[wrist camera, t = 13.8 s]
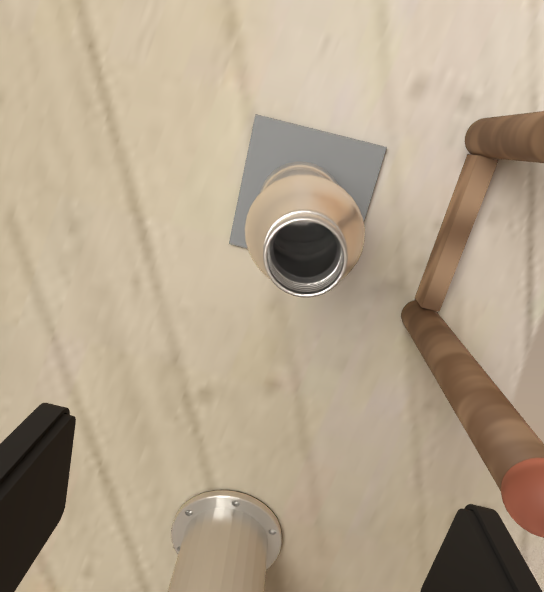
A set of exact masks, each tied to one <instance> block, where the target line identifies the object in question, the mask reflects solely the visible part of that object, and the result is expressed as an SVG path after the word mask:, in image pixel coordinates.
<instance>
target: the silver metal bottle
mask: <svg viewBox="0 0 544 592" xmlns="http://www.w3.org/2000/svg"><path fill="white" fill-rule="evenodd" d="M364 239H365V228H364V222H363V218H362V215H361V212H360V210H359V208H358V206H357V204H356V203H355V201H354V200H353V198H352V197H351V196H350V195H349V194H348V193H347V192H346V191H345V190H344V189H343V188H341V187H340V186H339V185H338V184H337V182H336V181H335V179H334V178H333V177H332V176H331V175H330V174H329V173H328V172H327V171H326V170H325V169H323V168H322V167H320V166H318V165H315V164H313V163H308V162H292V163H287V164H285V165H282V166H280V167H279V168H277V169H276V170H274V171H273V172H272V173H271V174H270V175H269V176H268V177H267V179H266V180H265V182H264V184H263V186H262V189H261V191H260V194H259V195H258V196H257V197H256V199H255V200H254V202H253V203H252V205H251V207H250V209H249V212H248V215H247V218H246V224H245V240H246V244H247V248H248V251H249V253H250V255H251V258H252V260H253V261H254V263H255V264H256V265H257V267H258V268H259V270H260V271H262V272H263V273H264V274H265V275H266V276H267V277H268V278H269V279H271V280H272V281H273V283H274V284H275V285H276V286H277V287H279V288H280V289H281V290H283V291H284V292H286V293H288V294H291V295H293V296H298V297H314V296H319V295H322V294H324V293H326V292H328V291H330V290H331V289H332V288H334V287H335V286H336V285H337V284H338V283H339V281H340V280H342V279H343V278H344V277H345V276H346V275H347V274H348V273H349V272H350V271H351V270H352V268H353V267H354V266H355V264H356V263H357V261H358V259H359V257H360V255H361V253H362V249H363V245H364Z"/></svg>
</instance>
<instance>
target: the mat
mask: <svg viewBox="0 0 544 592" xmlns="http://www.w3.org/2000/svg"><path fill="white" fill-rule="evenodd" d="M386 148H387V147H384V146H380V145H376V144H372V143H368V142H364V141H360V140H356V139H352V138H348V137H344V136H340V135H336V134H332V133H328V132H324V131H320V130H316V129H312V128H308V127H304V126H300V125H296V124H292V123H288V122H284V121H280V120H276V119H272V118H269V117H265V116H261V115H257V114H256V115H255V120H254V124H253V129H252V134H251V139H250V144H249V149H248V153H247V158H246V163H245V168H244V173H243V178H242V183H241V187H240V192H239V197H238V202H237V207H236V212H235V217H234V221H233V226H232V231H231V236H230V241H229V244H231V245H236V246H240V247H244V248H247V244H246V240H245V224H246V218H247V215H248V212H249V209H250V207H251V205H252V203H253V202H254V200H255V199H256V197H257V196H258V195H259V194H260V191H261V189H262V186H263V184H264V182H265V180H266V179H267V177H268V176H269V175H270V174H271V173H272V172H273V171H274V170H276V169H277V168H279V167H280V166H282V165H285V164H287V163H292V162H308V163H313V164H315V165H318V166H320V167H322V168H323V169H325V170H326V171H327V172H328V173H329V174H330V175H331V176H332V177H333V178H334V179H335V181H336V182H337V184H338V185H339V186H340V187H341V188H343V189H344V190H345V191H346V192H347V193H348V194H349V195H350V196H351V197H352V198H353V200H354V201H355V203H356V204H357V206H358V208H359V210H360V212H361V215H362V218H363V222H364V220H365V217H366V213H367V210H368V207H369V203H370V200H371V197H372V194H373V190H374V187H375V184H376V181H377V177H378V174H379V171H380V168H381V164H382V161H383V158H384V155H385V151H386Z"/></svg>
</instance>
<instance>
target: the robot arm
mask: <svg viewBox="0 0 544 592" xmlns="http://www.w3.org/2000/svg"><path fill="white" fill-rule="evenodd" d="M75 422H76V419H75V417H74V416H71V415H70V411H69V409H68V408H65V407H61V406H57V405H53V404H49V403H42V404H41V405H39V406H38V407H37V408H36V409H35V410H34V411H33V412H32V413H31V414H30V415H29V416H28V417H27V418H26V419H25V420H24V421H23V422H22V423H21V424H20V425H19V426H18V427H17V428H16V429H15V430H14V431H13V432H12V433H11V434H10V435H9V436H8V437H7V438H6V439H5V440H4V441H3V442H2V443H1V444H0V592H14V591H15V590H16V588H17V587H18V585H19V584H20V582H21V581H22V579H23V577H24V576H25V574H26V573H27V571H28V570H29V568H30V566H31V565H32V563H33V562H34V560H35V559H36V557H37V556H38V554H39V552H40V551H41V549H42V548H43V546H44V545H45V543H46V542H47V540H48V538H49V537H50V535H51V534H52V532H53V531H54V529H55V527H56V526H57V524H58V523H59V521H60V519H61V517H62V514H63V512H64V508H65V503H66V495H67V487H68V479H69V471H70V463H71V455H72V447H73V438H74V430H75ZM171 538H172V543H173V546H174V549H175V551H176V552H177V554H178V557H177V561H176V564H175V568H174V571H173V575H172V578H171V582H170V585H169V589H168V592H264V587H265V573H266V570H267V569H268V568H269V567H270V566H272V564H273V563H274V562H275V561H276V559H277V557H278V555H279V553H280V549H281V541H282V533H281V528H280V524H279V522H278V520H277V518H276V516H275V515H274V514H273V512H272V511H271V510H270V509H269V508H268V507H267V506H266V505H265V504H263V503H262V502H260V501H259V500H257V499H256V498H253V497H251V496H249V495H247V494H243V493H240V492H236V491H228V490H218V491H210V492H205V493H202V494H200V495H197V496H195V497H193V498H191V499H190V500H188V501H187V502H186V503H185V504H184V505H183V506H182V507H181V508H180V509H179V511H178V512H177V514H176V516H175V519H174V522H173V525H172V530H171ZM421 592H542V590H541V589H540V587H539V585H538V583H537V581H536V580H535V578H534V576H533V574H532V573H531V571H530V569H529V567H528V566H527V564H526V562H525V560H524V559H523V557H522V555H521V553H520V551H519V550H518V548H517V546H516V544H515V543H514V541H513V539H512V537H511V536H510V534H509V532H508V530H507V529H506V527H505V525H504V523H503V521H502V520H501V518H500V516H499V514H498V513H497V512H496V511H495V510H493V509H489V508H485V507H481V506H477V505H473V504H469V505H467V506H466V507H465V509H460V510H458V512H457V514H456V516H455V518H454V520H453V522H452V524H451V526H450V529H449V531H448V533H447V535H446V537H445V539H444V541H443V543H442V545H441V548H440V550H439V552H438V554H437V556H436V558H435V560H434V562H433V565H432V567H431V569H430V571H429V573H428V575H427V577H426V579H425V582H424V584H423V586H422V588H421Z"/></svg>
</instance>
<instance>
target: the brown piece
mask: <svg viewBox="0 0 544 592" xmlns="http://www.w3.org/2000/svg"><path fill="white" fill-rule="evenodd" d="M465 145H466V148H467V150H468V151H469V152H470V153H471V154H472V155H470V154H467V157H466V160H465V163H464V165H463V168H462V171H461V174H460V176H459V179H458V182H457V184H456V187H455V190H454V193H453V195H452V198H451V201H450V203H449V206H448V209H447V212H446V214H445V217H444V220H443V223H442V225H441V228H440V231H439V233H438V236H437V239H436V242H435V244H434V247H433V250H432V252H431V255H430V258H429V261H428V263H427V266H426V269H425V272H424V274H423V277H422V280H421V282H420V285H419V288H418V291H417V293H416V296H415V299H416V300H414V301H411V302H409V303H408V304H407V305H406V306H405V307H404V308H403V310H402V313H401V319H402V322H403V323H404V325H405V327H406V329H407V330H408V332H409V334H410V335H411V337H412V339H413V341H414V342H415V344H416V346H417V348H418V349H419V351H420V353H421V354H422V356H423V358H424V360H425V361H426V363H427V365H428V366H429V368H430V370H431V372H432V373H433V375H434V377H435V379H436V380H437V382H438V384H439V385H440V387H441V389H442V391H443V392H444V394H445V396H446V398H447V399H448V401H449V403H450V404H451V406H452V408H453V410H454V411H455V413H456V415H457V416H458V418H459V420H460V422H461V423H462V425H463V427H464V429H465V430H466V432H467V434H468V435H469V437H470V439H471V441H472V442H473V444H474V446H475V448H476V449H477V451H478V453H479V454H480V456H481V458H482V460H483V461H484V463H485V465H486V466H487V468H488V470H489V472H490V473H491V475H492V477H493V479H494V480H495V482H496V484H497V485H498V487H499V489H500V491H501V495H502V499H503V503H504V505H505V507H506V510H507V511H508V513H509V514H510V516H511V517H512V518H513V519H514V521H515V522H516V523H517V524H518V525H520V526H521V527H522V528H523V529H525V530H527V531H528V532H530V533H532V534H534V535H537V536H540V537H544V444H543V442H542V441H541V440H540V439H539V438H538V436H537V435H536V434H535V433H534V431H533V430H532V429H531V428H530V426H529V425H528V424H527V423H526V422H525V420H524V419H523V418H522V417H521V416H520V414H519V413H518V412H517V410H516V409H515V408H514V407H513V405H512V404H511V403H510V402H509V401H508V399H507V398H506V397H505V396H504V394H503V393H502V392H501V391H500V389H499V388H498V387H497V386H496V385H495V383H494V382H493V381H492V380H491V378H490V377H489V376H488V375H487V373H486V372H485V371H484V370H483V369H482V367H481V366H480V365H479V364H478V362H477V361H476V360H475V359H474V357H473V356H472V355H471V354H470V352H469V351H468V350H467V349H466V348H465V346H464V345H463V344H462V343H461V341H460V340H459V339H458V338H457V336H456V335H455V334H454V333H453V332H452V330H451V329H450V328H449V327H448V325H447V324H446V323H445V322H444V320H443V319H442V318H441V317H440V316H439V314H438V313H437V312H436V311H440V308H441V306H442V303H443V301H444V298H445V296H446V293H447V291H448V288H449V285H450V283H451V280H452V278H453V275H454V273H455V270H456V268H457V265H458V262H459V260H460V257H461V255H462V252H463V250H464V247H465V245H466V242H467V239H468V237H469V234H470V232H471V229H472V227H473V224H474V222H475V219H476V217H477V214H478V211H479V209H480V206H481V204H482V201H483V199H484V196H485V194H486V191H487V188H488V186H489V183H490V181H491V178H492V176H493V173H494V171H495V168H496V165H497V163H498V160H496V159H505V160H516V161H527V162H538V163H544V111H542V112H534V113H525V114H517V115H508V116H499V117H491V118H483V119H480V120H478V121H476V122H474V123H473V124H472V125H471V126H470V127H469V129H468V131H467V133H466V136H465ZM492 158H495V159H492Z"/></svg>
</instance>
